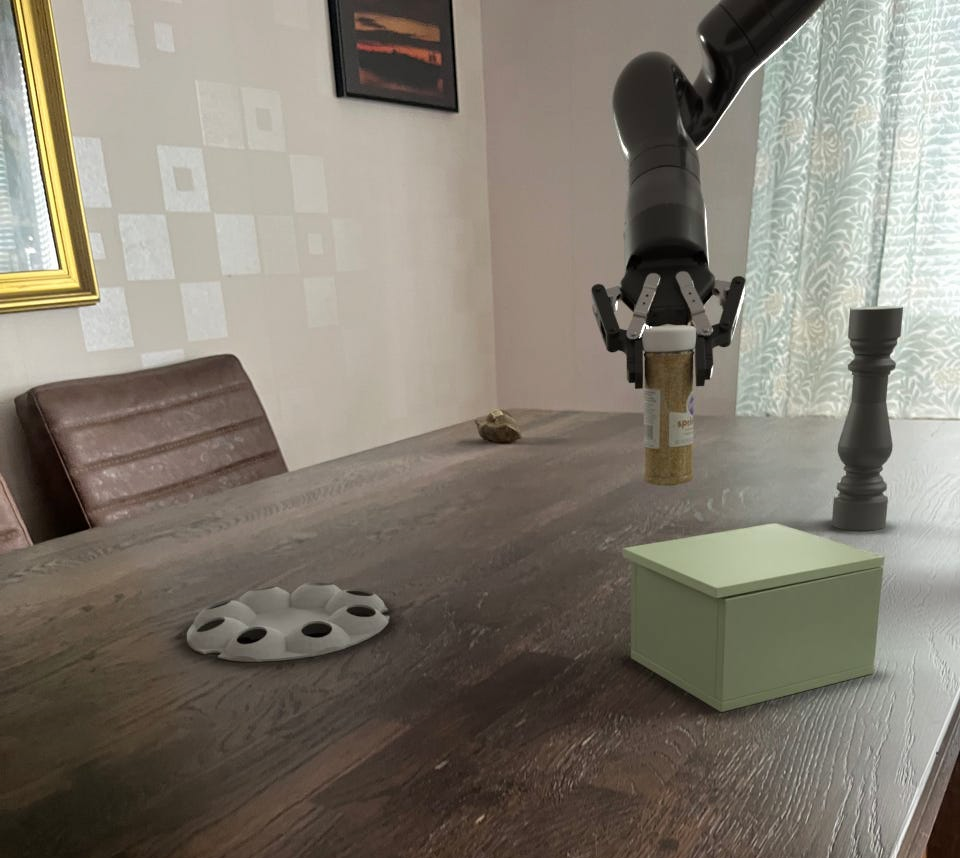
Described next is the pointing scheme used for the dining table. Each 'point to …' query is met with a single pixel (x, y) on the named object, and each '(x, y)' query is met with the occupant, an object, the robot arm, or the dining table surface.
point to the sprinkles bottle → (668, 404)
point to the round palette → (287, 623)
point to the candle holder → (867, 420)
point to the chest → (755, 635)
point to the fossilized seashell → (499, 427)
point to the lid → (750, 559)
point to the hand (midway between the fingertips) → (670, 380)
